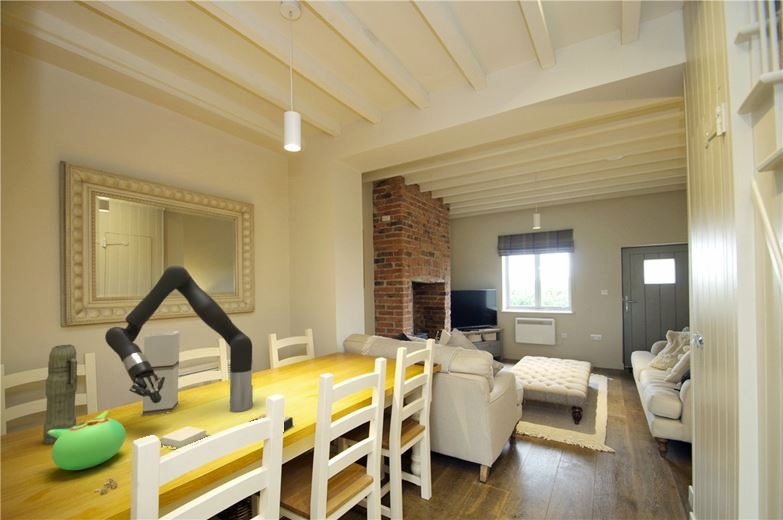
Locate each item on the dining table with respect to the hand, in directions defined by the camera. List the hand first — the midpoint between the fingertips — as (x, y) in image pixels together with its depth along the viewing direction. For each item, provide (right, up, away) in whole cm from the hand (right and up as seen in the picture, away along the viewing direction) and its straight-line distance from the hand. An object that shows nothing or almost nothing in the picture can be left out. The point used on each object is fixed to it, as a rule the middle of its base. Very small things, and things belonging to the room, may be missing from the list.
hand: (158, 401), depth 134 cm
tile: (+9, -11, -4) cm, 15 cm away
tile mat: (+12, -12, -6) cm, 18 cm away
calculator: (+41, -13, +4) cm, 43 cm away
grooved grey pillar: (-17, -15, +28) cm, 36 cm away
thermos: (-36, -14, -2) cm, 39 cm away
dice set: (+9, -11, -35) cm, 38 cm away
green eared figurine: (-8, -12, -22) cm, 26 cm away
